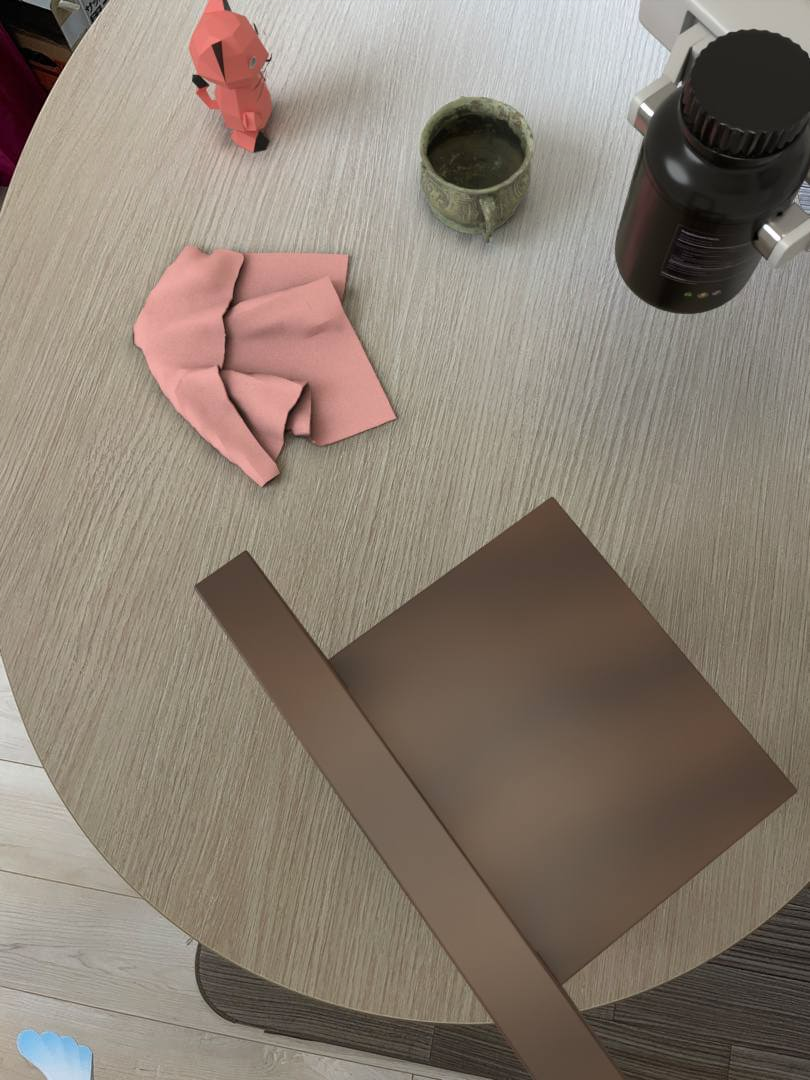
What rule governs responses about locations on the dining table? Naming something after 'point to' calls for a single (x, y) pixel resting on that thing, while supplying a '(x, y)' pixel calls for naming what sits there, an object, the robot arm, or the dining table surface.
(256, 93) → the cat figurine
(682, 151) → the supplement bottle
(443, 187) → the vessel
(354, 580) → the dining table surface
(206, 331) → the cloth
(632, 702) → the shelf
